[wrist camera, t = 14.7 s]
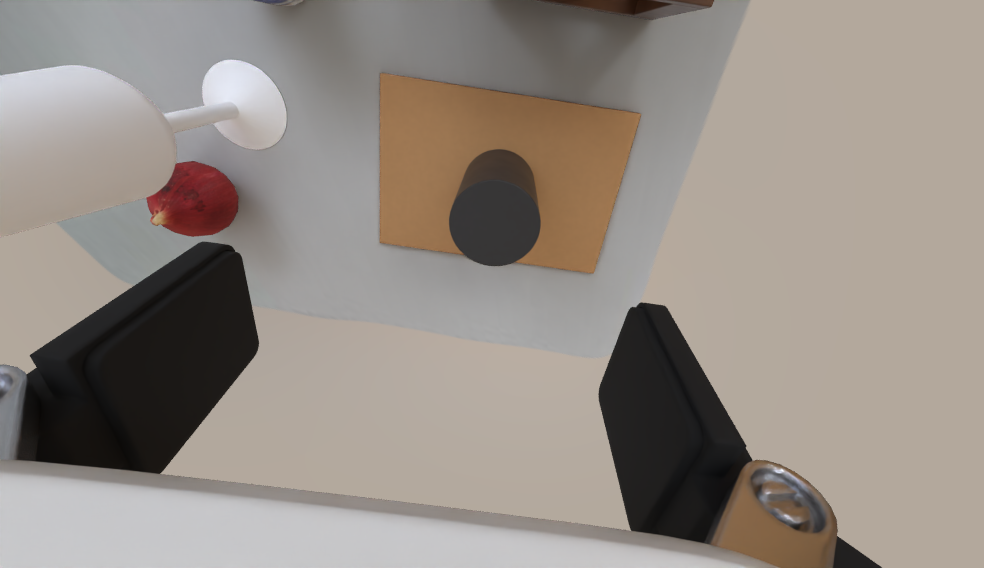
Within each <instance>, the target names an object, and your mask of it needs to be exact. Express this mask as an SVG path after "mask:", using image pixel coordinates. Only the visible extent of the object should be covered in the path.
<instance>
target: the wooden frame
mask: <svg viewBox="0 0 984 568" xmlns="http://www.w3.org/2000/svg"><path fill="white" fill-rule="evenodd" d="M533 1H539V2H545V3H552V4H558V5H564V6H570V7H576V8H582V9H588V10H594V11H600V12H607V13H613V14H619V15H625V16H631V17H637V18H643V19H649V20H654V19H658V18H663V17H668V16H672V15H677V14H682V13H686V12H691V11H696V10H700V9H704V8H709V7H711V6H712V5H713V2H714V0H533Z"/></svg>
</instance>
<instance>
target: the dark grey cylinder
mask: <svg viewBox="0 0 984 568" xmlns="http://www.w3.org/2000/svg"><path fill="white" fill-rule="evenodd" d="M540 228H541V219H540V212H539V206H538V200H537V194H536V188H535V181H534V176H533V173H532V170H531V168H530V167H529V165H528V164H527V162H526V161H525V160H524V159H523V158H522V157H520V156H519V155H518V154H516V153H514V152H511V151H508V150H503V149H494V150H489V151H486V152H484V153H482V154H480V155H479V156H477V157H476V158H475V159H474V160H473V161H472V162H471V163H470V164H469V166H468V167H467V170H466V172H465V174H464V177H463V179H462V182H461V185H460V187H459V190H458V192H457V195H456V197H455V200H454V202H453V205H452V208H451V211H450V215H449V230H450V233H451V237H452V239H453V241H454V243H455V245H456V246H457V247H458V249H459V250H460V251H461V252H462V253H463V254H464V255H465V256H467V257H468V258H469V259H471V260H473V261H475V262H477V263H480V264H483V265H488V266H503V265H507V264H511V263H513V262H516V261H518V260H520V259H521V258H523V257H524V256H525V255H526V254H528V253H529V252H530V250H531V249H532V248H533V247H534V245H535V243H536V241H537V239H538V237H539V233H540Z"/></svg>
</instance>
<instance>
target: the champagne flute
mask: <svg viewBox="0 0 984 568" xmlns="http://www.w3.org/2000/svg"><path fill="white" fill-rule="evenodd" d="M202 97H203V103H204V106H202V107H197V108H191V109H186V110H180V111H175V112H170V113H164V114H163V113H162V112H161V110H160V109H159V108H158V107H157V106H156V105H155V104H154V103H153V102H152V101H151V100H150V99H149V98H147V97H146V96H145V95H144V94H143V93H141V92H140V91H139V90H138V89H136V88H135V87H133V86H132V85H130V84H128V83H127V82H125V81H123V80H121V79H119V78H118V77H116V76H114V75H111V74H109V73H107V72H104V71H102V70H98V69H94V68H89V67H85V66H77V65H65V66H59V67H52V68H46V69H39V70H33V71H26V72H20V73H13V74H7V75H1V76H0V238H1V237H4V236H8V235H12V234H15V233H19V232H22V231H26V230H30V229H34V228H37V227H41V226H45V225H48V224H52V223H56V222H59V221H63V220H67V219H70V218H74V217H78V216H81V215H85V214H89V213H92V212H96V211H99V210H103V209H107V208H110V207H114V206H118V205H121V204H125V203H129V202H132V201H136V200H140V199H143V198H147V197H149V196H151V195H154V194H156V193H157V192H158V191H159V190H160V189H162V188H163V187H164V186H165V185H166V184H167V183H168V181H169V179H170V178H171V176H172V173H173V171H174V167H175V164H176V156H177V146H176V140H175V136H174V133H177V132H181V131H185V130H189V129H193V128H197V127H201V126H205V125H209V124H214V126H215V127H216V128H217V129H218V130H219V131H220V133H221V134H222V135H224V136H225V137H226V138H227V139H228V140H230V141H232V142H233V143H235V144H237V145H239V146H241V147H244V148H248V149H253V150H261V149H266V148H269V147H271V146H273V145H274V144H276V143H277V142H278V141H279V140H280V139H281V137H282V136H283V134H284V131H285V129H286V123H287V112H286V107H285V103H284V100H283V98H282V95H281V93H280V92H279V90H278V88H277V86H276V85H275V84H274V83H273V81H272V80H271V79H270V78H269V77H268V76H267V75H266V74H265V73H264V72H263V71H261V70H260V69H258V68H257V67H255V66H253V65H251V64H249V63H247V62H244V61H239V60H225V61H221V62H219V63H217V64H215V65H214V66H212V67H211V68H210V69H209V70H208V72H207V74H206V75H205V78H204V81H203V85H202Z"/></svg>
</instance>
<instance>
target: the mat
mask: <svg viewBox="0 0 984 568" xmlns="http://www.w3.org/2000/svg"><path fill="white" fill-rule="evenodd" d="M640 117H641V114H639V113H634V112H628V111H622V110H615V109H609V108H603V107H596V106H590V105H583V104H577V103H571V102H564V101H558V100H552V99H545V98H539V97H532V96H526V95H520V94H513V93H507V92H500V91H494V90H488V89H481V88H475V87H469V86H462V85H456V84H449V83H443V82H437V81H430V80H424V79H418V78H411V77H405V76H398V75H392V74H386V73H380V243H385V244H392V245H399V246H406V247H413V248H420V249H427V250H434V251H441V252H448V253H455V254H462V255H464V254H463V253H462V252H461V251H460V250H459V249H458V247H457V246H456V245H455V243H454V241H453V239H452V237H451V233H450V230H449V215H450V211H451V208H452V205H453V202H454V200H455V197H456V195H457V192H458V190H459V187H460V185H461V182H462V179H463V177H464V174H465V172H466V170H467V167H468V166H469V164H470V163H471V162H472V161H473V160H474V159H475V158H476V157H477V156H479V155H480V154H482V153H484V152H486V151H489V150H494V149H503V150H508V151H511V152H514V153H516V154H518V155H519V156H520V157H522V158H523V159H524V160H525V161H526V162H527V164H528V165H529V167H530V168H531V170H532V173H533V176H534V181H535V188H536V194H537V200H538V206H539V212H540V219H541V228H540V233H539V237H538V239H537V241H536V243H535V245H534V247H533V248H532V249H531V250H530V252H529V253H528V254H526V255H525V256H524V257H523V258H521V259H520V260H518V261H516V262H517V263H524V264H531V265H538V266H545V267H552V268H558V269H565V270H572V271H579V272H586V273H594V271H595V267H596V264H597V261H598V257H599V254H600V251H601V247H602V244H603V241H604V237H605V234H606V231H607V227H608V224H609V221H610V217H611V214H612V211H613V207H614V204H615V200H616V197H617V194H618V190H619V187H620V184H621V180H622V177H623V174H624V170H625V167H626V164H627V160H628V157H629V154H630V150H631V147H632V144H633V140H634V137H635V134H636V130H637V127H638V124H639V120H640Z"/></svg>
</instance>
